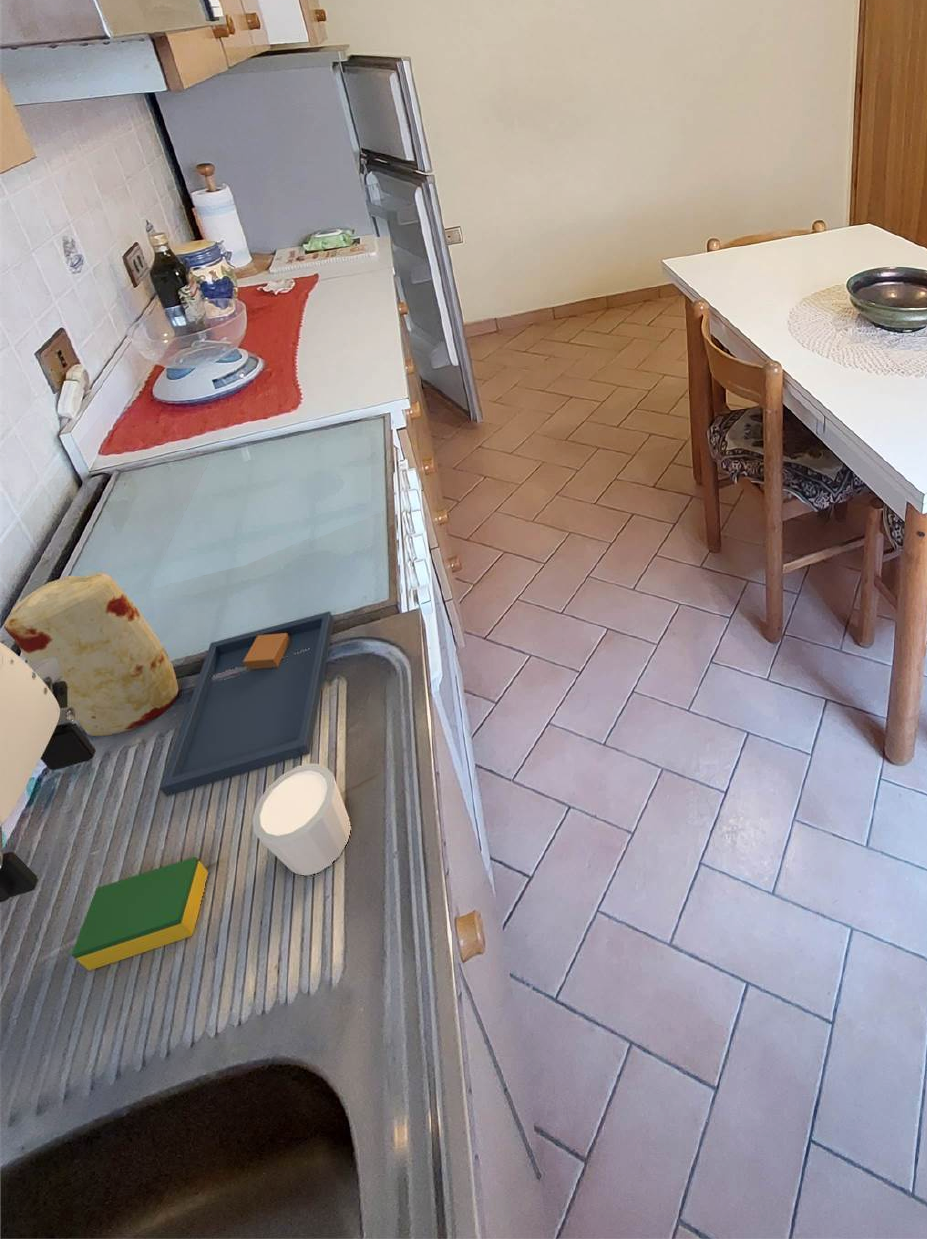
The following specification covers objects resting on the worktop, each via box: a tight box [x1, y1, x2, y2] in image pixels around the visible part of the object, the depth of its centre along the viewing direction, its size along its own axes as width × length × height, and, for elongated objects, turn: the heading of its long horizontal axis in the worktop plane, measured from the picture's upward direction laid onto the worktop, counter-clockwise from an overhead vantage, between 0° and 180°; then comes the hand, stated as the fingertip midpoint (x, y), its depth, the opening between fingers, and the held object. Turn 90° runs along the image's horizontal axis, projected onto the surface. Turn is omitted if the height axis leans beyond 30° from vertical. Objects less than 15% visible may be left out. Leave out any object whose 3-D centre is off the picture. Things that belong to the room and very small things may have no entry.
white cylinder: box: [251, 762, 352, 875], centre depth 66 cm, size 7×7×7 cm
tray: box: [159, 611, 335, 797], centre depth 81 cm, size 14×18×2 cm
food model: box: [3, 572, 179, 737], centre depth 77 cm, size 10×7×20 cm
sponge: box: [71, 856, 209, 971], centre depth 63 cm, size 8×5×3 cm, turn 105°
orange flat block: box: [243, 633, 291, 669], centre depth 86 cm, size 4×4×2 cm
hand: (45, 821), depth 56 cm, fingers open, 9 cm apart
